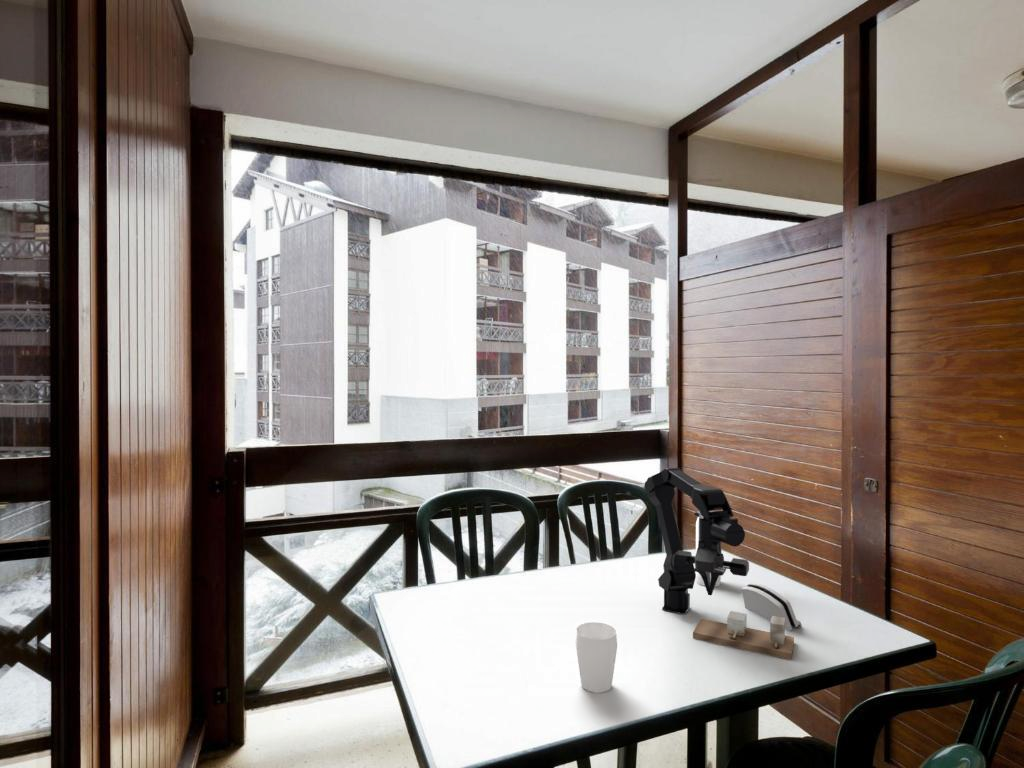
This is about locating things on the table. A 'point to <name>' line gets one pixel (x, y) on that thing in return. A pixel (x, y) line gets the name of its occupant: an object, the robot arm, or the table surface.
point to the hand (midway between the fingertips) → (710, 594)
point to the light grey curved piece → (769, 604)
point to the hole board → (749, 637)
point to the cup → (596, 655)
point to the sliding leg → (736, 623)
